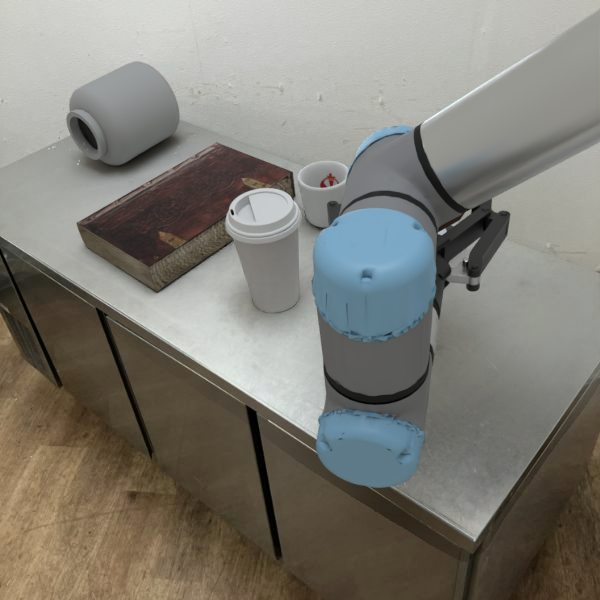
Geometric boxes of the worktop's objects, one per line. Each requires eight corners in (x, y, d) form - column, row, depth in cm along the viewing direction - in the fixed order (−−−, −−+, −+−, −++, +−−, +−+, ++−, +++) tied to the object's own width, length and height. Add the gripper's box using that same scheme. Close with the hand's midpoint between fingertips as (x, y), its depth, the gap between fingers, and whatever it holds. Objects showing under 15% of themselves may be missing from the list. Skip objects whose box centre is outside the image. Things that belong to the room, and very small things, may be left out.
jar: (205, 128, 117) (76, 168, 103) (181, 167, 129) (63, 207, 116) (154, 40, 118) (20, 68, 104) (136, 87, 130) (13, 117, 117)
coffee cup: (250, 272, 93) (232, 184, 83) (315, 274, 91) (305, 184, 81) (234, 319, 86) (213, 228, 76) (305, 322, 85) (292, 230, 75)
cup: (376, 209, 102) (375, 164, 96) (362, 239, 96) (360, 194, 91) (311, 201, 105) (307, 157, 100) (294, 230, 100) (289, 185, 94)
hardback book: (220, 164, 116) (215, 139, 113) (296, 198, 106) (292, 171, 103) (84, 246, 102) (74, 220, 99) (157, 293, 92) (148, 266, 88)
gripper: (272, 330, 61) (323, 199, 77) (531, 360, 55) (530, 211, 71) (260, 270, 56) (318, 142, 71) (545, 295, 50) (541, 150, 66)
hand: (423, 176), depth 71 cm, fingers closed on ice cream bowl, 11 cm apart
